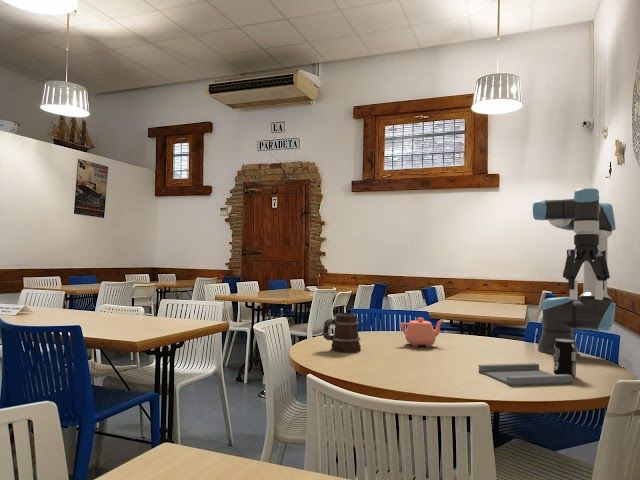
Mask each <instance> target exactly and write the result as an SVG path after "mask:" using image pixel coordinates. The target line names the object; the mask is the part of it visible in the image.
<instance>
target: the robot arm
mask: <svg viewBox="0 0 640 480" xmlns="http://www.w3.org/2000/svg"><path fill="white" fill-rule="evenodd" d="M532 217H533V219H534V220H535V221H548V222H549V224H550V225H552V226H553V227H555V228H557V229H562V230H567V231H573V233H575V234H574V236H573V244H574V246H575V247H574V249H566V260H565V264H564V268H563V272H562V278H564V279H565V280H567V281H568V282H567V283H568V284H567V286H568V287H567V288H568V290H569V296H558V297H547V298H545V299H543V301H542V309H541V311H542V334H541V336H540V339H539V342H538V343H537V345H538V346H537V351H539V352H542V353H546V354H551V355H554V343H555V341H556V340H555V339H570V340H574V343H575V345H576V355H578V350H579V349H578V346H577V343H576V340H575V336H574V329H577V330H587V331H588V330H589V331H597V332H599V331H600V332H602V331H603V332H609V331H611V330H612V328H613V323H614V319H615V311H616V302H612V297H611V296H610V295H608V280H609V279H610V278H611V276H610V271H609V268H608V240H609V239H608V238H609V237H611V236H612V234H613V231H616V220H615V213H614V208H613V205H612V204H611V203H608V202H607V203H604V202H603V203H602V202H600V191H599V190H598V189H597V188H590V187H589V188H588V187H587V188H579V189H575V191H574V195H573V198H568V199H567V198H565V199H541V200H535V201H534V202H533V203H532ZM582 266H583V289H582V290H583V291H582V293H581V294H580V295H579V294H578V293H579V291H578V286H579V285H578V281H579V280H577V276H578V274H579V272H580V270H581V267H582ZM578 295H579V297H578Z"/></svg>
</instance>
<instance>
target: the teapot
mask: <svg viewBox="0 0 640 480" xmlns="http://www.w3.org/2000/svg"><path fill="white" fill-rule="evenodd" d="M416 319H417V320H410V321H409V322H401V323H399V329H400V330H401V331H402V333H403V334H404V335H405V340H406V342H407V343H408V344H409V345H410V346H411V345H412V348H419V346H425V348H432V345H434V344H435V342H436V338H437V337H438V335H440V331H441V330H440V329H441V324H442V323H443V322H444V321H445V319H441V320H438V321H437V323H436V327H435V329H434V326H433V324H432V322H431V321H428V320H425V319H424V317H417V318H416ZM405 326H407V328H406V329H405Z"/></svg>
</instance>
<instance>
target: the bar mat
mask: <svg viewBox="0 0 640 480" xmlns="http://www.w3.org/2000/svg"><path fill="white" fill-rule="evenodd" d="M478 372H479V373H481V374H483V375H485V376H487V377H490V378H492V379H493V380H494V379H495V380H497V381H499V382H501V383H504V384H506V385H507V386H510V387H513V386H514V387H516V386H539V385H540V386H541V385H543V386H544V385H566V384H567V385H568V384H573V383H574V377H573V376H572V375H569V374H559V375H555V374H554V373H549V372H547V371H544V370H542V369H540V364H539V363H536V362H531V363H530V362H528V363H526V362H525V363H498V364H496V363H494V364H493V363H491V364H488V363H487V364H478Z"/></svg>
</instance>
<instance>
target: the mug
mask: <svg viewBox="0 0 640 480" xmlns="http://www.w3.org/2000/svg"><path fill="white" fill-rule="evenodd" d="M335 316H336V317H335V318H334V319H333V318H328V319H326V320H325V321H324V323H323V325H324V326H323V331H322V332H321V333H322V336H323V338H324V339H325V340H327V341H332V342H331V350H332V352H336V351H337V353H345V352H346V353H347V354H348V353H349V354H350V353H351V352H352V353H358V352H360V351H362V350H361V347H362V346H361V343H360V341H361V337H359V329H358V325H359V324H360V321H359V320H358V318H357V317H358V316H357V314H356V313H354V312H338V313H336V315H335ZM332 325H333V326H334V332H333V334H332V335H331V334H330V333H329V329H330V328H329V327H331V326H332Z"/></svg>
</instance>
